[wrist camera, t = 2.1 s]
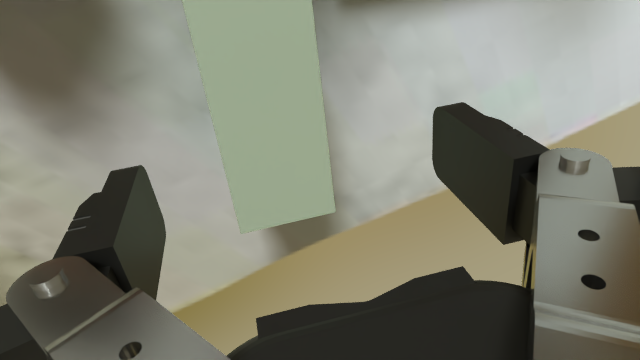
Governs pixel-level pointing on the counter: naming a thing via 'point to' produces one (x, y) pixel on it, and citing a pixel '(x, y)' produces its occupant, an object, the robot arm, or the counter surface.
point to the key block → (265, 106)
